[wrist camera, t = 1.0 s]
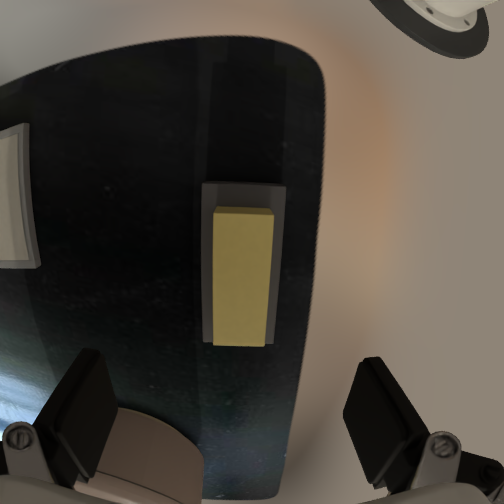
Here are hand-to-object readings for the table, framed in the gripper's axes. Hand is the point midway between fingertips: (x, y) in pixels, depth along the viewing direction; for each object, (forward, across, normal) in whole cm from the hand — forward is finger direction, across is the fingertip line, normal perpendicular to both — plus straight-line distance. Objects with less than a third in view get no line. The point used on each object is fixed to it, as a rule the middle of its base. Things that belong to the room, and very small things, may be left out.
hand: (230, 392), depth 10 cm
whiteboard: (+14, +28, -5) cm, 31 cm away
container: (+15, +12, +25) cm, 32 cm away
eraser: (+14, -1, 0) cm, 14 cm away
